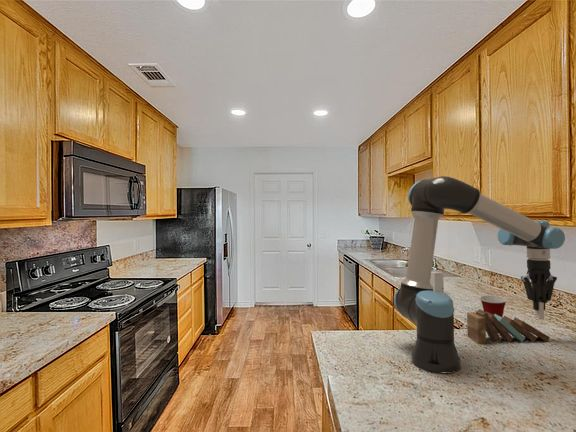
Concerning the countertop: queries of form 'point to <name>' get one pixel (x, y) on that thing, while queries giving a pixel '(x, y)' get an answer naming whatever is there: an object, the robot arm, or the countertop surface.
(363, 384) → the countertop surface
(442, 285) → the skincare box
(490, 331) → the domino
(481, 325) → the block
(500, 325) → the domino
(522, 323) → the domino
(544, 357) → the countertop surface
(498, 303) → the plastic cup
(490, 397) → the countertop surface
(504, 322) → the domino
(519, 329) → the domino
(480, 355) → the countertop surface
